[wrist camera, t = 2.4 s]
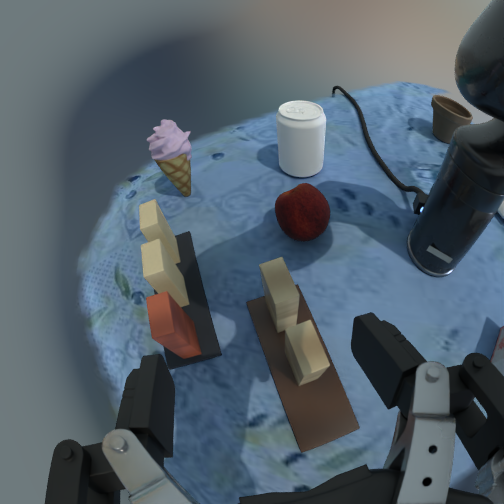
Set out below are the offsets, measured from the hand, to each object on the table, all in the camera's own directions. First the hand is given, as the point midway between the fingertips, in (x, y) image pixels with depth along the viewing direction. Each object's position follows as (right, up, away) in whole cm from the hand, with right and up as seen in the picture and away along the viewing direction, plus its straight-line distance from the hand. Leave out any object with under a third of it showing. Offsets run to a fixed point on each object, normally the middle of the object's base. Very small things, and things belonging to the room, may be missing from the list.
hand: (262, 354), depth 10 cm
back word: (-10, -2, +26) cm, 28 cm away
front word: (+5, -9, +19) cm, 22 cm away
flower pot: (+49, +34, +42) cm, 73 cm away
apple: (+7, +7, +30) cm, 32 cm away
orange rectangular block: (-8, -7, +22) cm, 24 cm away
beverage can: (+9, +20, +38) cm, 44 cm away
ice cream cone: (-12, +14, +37) cm, 41 cm away
